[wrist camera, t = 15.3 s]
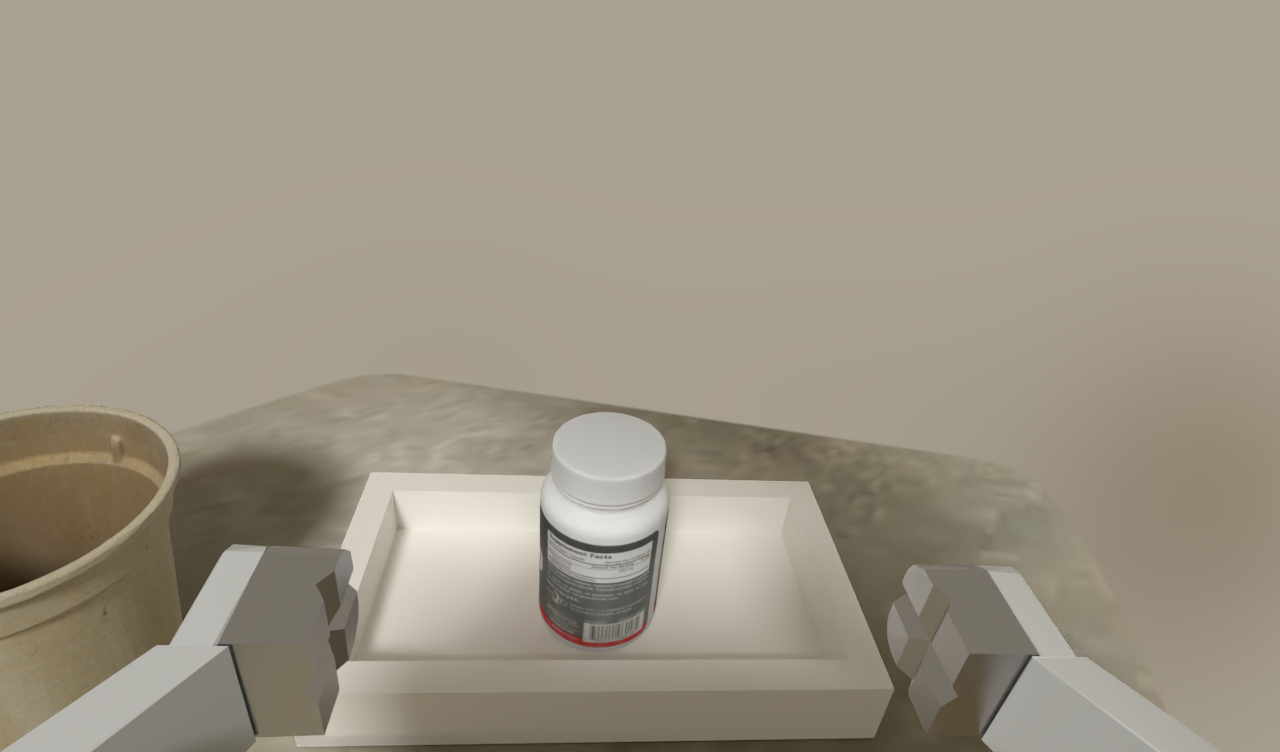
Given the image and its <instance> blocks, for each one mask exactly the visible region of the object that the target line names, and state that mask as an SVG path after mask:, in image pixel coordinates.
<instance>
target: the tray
mask: <svg viewBox="0 0 1280 752" xmlns="http://www.w3.org/2000/svg"><path fill="white" fill-rule="evenodd" d="M545 477H546V476H520V475H474V474H427V473H381V472H371V474H370V476H369V479H368V481H367V484H366V486H365V489H364V491H363V494H362V496H361V499H360V501H359V504H358V506H357V509H356V511H355V514H354V516H353V519H352V521H351V524H350V526H349V529H348V531H347V534H346V536H345V539H344V541H343V544H342V546H341V549H346V550H348V551H351V557H352V562H353V567H354V569H353V572H352V575H351V578H350V581H349V583H348V584H350V585H351V586H352V587H353V588H354V589H355V590H356V591H357V595H358V603H359V605H358V624H357V630H356V636H355V642H354V645H353V648H352V652H351V655H350V658H349V660H348V661H347V662H346V663H345V664H344V665H342V666H341V667H340V668H339V669H338V670H337V676H338V682H339V688H340V689H339V693H338V696H337V699H336V702H335V705H334V708H333V711H332V714H331V717H330V720H329V723H328V726H327V729H326V732H325V735H314V736H294V738H295V742H296V745H297V747H324V746H389V745H454V744H519V743H584V742H650V741H715V740H780V739H845V738H874V737H875V735H876V732H877V730H878V727H879V725H880V723H881V720H882V718H883V715H884V713H885V711H886V708H887V706H888V703H889V701H890V699H891V696H892V694H893V692H894V687H893V684H892V682H891V679H890V677H889V675H888V672H887V670H886V667H885V665H884V663H883V660H882V658H881V655H880V653H879V651H878V648H877V646H876V643H875V641H874V639H873V636H872V634H871V631H870V629H869V626H868V624H867V622H866V619H865V617H864V614H863V612H862V610H861V607H860V605H859V602H858V600H857V598H856V595H855V593H854V590H853V588H852V586H851V583H850V581H849V578H848V576H847V574H846V571H845V569H844V566H843V564H842V562H841V559H840V557H839V554H838V552H837V549H836V547H835V545H834V542H833V540H832V537H831V535H830V533H829V530H828V528H827V525H826V523H825V521H824V518H823V516H822V513H821V511H820V509H819V506H818V504H817V501H816V499H815V497H814V494H813V492H812V489H811V487H810V484H809V482H800V481H753V480H707V479H664V481H665V483H666V486H667V489H668V492H669V513H668V519H667V526H666V533H665V540H664V547H663V555H662V561H661V569H660V576H659V584H658V592H657V600H656V607H655V612H654V616H653V619H652V621H651V623H650V625H649V627H648V628H647V629H646V631H645V632H644V633H643V634H642V635H641V636H640V637H639V638H638V639H636V640H635V641H633V642H632V643H630V644H629V645H627V646H624V647H622V648H619V649H616V650H611V651H605V652H591V651H584V650H580V649H577V648H574V647H572V646H570V645H568V644H566V643H564V642H563V641H561V640H560V639H559V638H557V637H556V636H555V635H554V634H553V633H552V632H551V631H550V630H549V629H548V628H547V626H546V625H545V623H544V621H543V619H542V616H541V613H540V608H539V561H540V496H541V488H542V484H543V481H544V479H545Z"/></svg>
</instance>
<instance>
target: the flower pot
mask: <svg viewBox="0 0 1280 752" xmlns="http://www.w3.org/2000/svg"><path fill="white" fill-rule="evenodd" d="M180 468H181V458H180V453H179V448H178V446H177V444H176V442H175V440H174V439H173V436H172V435H171V434H170V433H169V432H168V431H167V430H166V429H165V428H164V427H162V426H161V425H160V424H158V423H157V422H155V421H154V420H152V419H150V418H148V417H145V416H143V415H141V414H137V413H135V412H132V411H128V410H122V409H116V408H109V407H103V406H92V405H91V406H85V405H72V406H46V407H42V408H34V409H27V410H19V411H12V412H5V413H2V414H0V752H1V751H2V750H4V749H5V748H7V747H8V746H10V745H11V744H13V743H14V742H16V741H17V740H19V739H20V738H22V737H23V736H24V735H26V734H27V733H29V732H30V731H32V730H33V729H35V728H36V727H38V726H39V725H41V724H42V723H43V722H45V721H46V720H48V719H49V718H51V717H52V716H54V715H55V714H57V713H58V712H60V711H61V710H62V709H64V708H65V707H67V706H68V705H70V704H71V703H73V702H74V701H76V700H77V699H79V698H80V697H81V696H83V695H84V694H86V693H87V692H89V691H90V690H92V689H93V688H95V687H96V686H98V685H99V684H100V683H102V682H103V681H105V680H106V679H108V678H109V677H111V676H112V675H114V674H115V673H117V672H118V671H120V670H121V669H122V668H124V667H125V666H127V665H128V664H130V663H131V662H133V661H134V660H136V659H137V658H139V657H140V656H141V655H143V654H144V653H146V652H147V651H149V650H150V649H152V648H153V647H155V646H156V645H169V644H170V642H171V641H172V639H173V637H174V636H175V634H176V632H177V630H178V629H179V627H180V625H181V624H182V622H183V619H182V611H181V604H180V597H179V591H178V584H177V577H176V569H175V562H174V555H173V548H172V541H171V534H170V526H169V519H170V516H171V513H172V509H173V501H174V495H173V492H174V490H175V488H176V485H177V482H178V479H179V476H180Z"/></svg>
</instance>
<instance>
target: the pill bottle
mask: <svg viewBox="0 0 1280 752" xmlns="http://www.w3.org/2000/svg"><path fill="white" fill-rule="evenodd" d="M666 453H667V449H666V443H665V440H664V438H663V436H662V435H661V434H660V432H659V431H658V430H657V429H656V428H655V427H653V426H652V425H651V424H649V423H647V422H646V421H643V420H641V419H639V418H637V417H633V416H630V415H627V414H622V413H614V412H596V413H589V414H584V415H580V416H578V417H575V418H573V419H571V420H569V421H567V422H566V423H564V424H563V425H562V426H561V427H560V428H559V429H558V430H557V432H556V433H555V435H554V438H553V442H552V453H551V462H550V471H549V473H548V474H547V476H546V477H545V479H544V481H543V484H542V488H541V496H540V561H539V608H540V613H541V616H542V619H543V621H544V623H545V625H546V626H547V628H548V629H549V630H550V631H551V632H552V633H553V634H554V635H555V636H556V637H557V638H559V639H560V640H561V641H563V642H564V643H566V644H568V645H570V646H572V647H574V648H577V649H580V650H584V651H591V652H605V651H611V650H616V649H619V648H622V647H624V646H627V645H629V644H630V643H632V642H633V641H635V640H636V639H638V638H639V637H640V636H641V635H642V634H643V633H644V632H645V631H646V629H647V628H648V627H649V625H650V623H651V621H652V619H653V616H654V612H655V607H656V600H657V592H658V584H659V576H660V569H661V561H662V555H663V547H664V540H665V533H666V526H667V519H668V513H669V492H668V489H667V486H666V483H665V481H664V478H665V465H666Z"/></svg>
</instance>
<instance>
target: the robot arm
mask: <svg viewBox="0 0 1280 752" xmlns="http://www.w3.org/2000/svg"><path fill="white" fill-rule="evenodd" d="M353 569H354V567H353V562H352V557H351V551H348V550H346V549H330V548H310V547H291V546H259V545H239V544H233V545H232V546H230V547H229V548H228V549H227V550H226V551H224V552H223V553H222V555H221V557H220V558H219V560H218V562H217V563H216V565H215V567H214V569H213V570H212V572H211V574H210V575H209V577H208V579H207V581H206V582H205V584H204V586H203V587H202V589H201V591H200V593H199V594H198V596H197V598H196V599H195V601H194V603H193V605H192V606H191V608H190V610H189V612H188V613H187V615H186V617H185V618H184V620H183V622H182V624H181V625H180V627H179V629H178V630H177V632H176V634H175V636H174V637H173V639H172V641H171V642H170V644H169V645H156V646H155V647H153V648H152V649H150V650H149V651H147V652H146V653H144V654H143V655H141V656H140V657H139V658H137V659H136V660H134V661H133V662H131V663H130V664H128V665H127V666H125V667H124V668H122V669H121V670H120V671H118V672H117V673H115V674H114V675H112V676H111V677H109V678H108V679H106V680H105V681H103V682H102V683H100V684H99V685H98V686H96V687H95V688H93V689H92V690H90V691H89V692H87V693H86V694H84V695H83V696H81V697H80V698H79V699H77V700H76V701H74V702H73V703H71V704H70V705H68V706H67V707H65V708H64V709H62V710H61V711H60V712H58V713H57V714H55V715H54V716H52V717H51V718H49V719H48V720H46V721H45V722H43V723H42V724H41V725H39V726H38V727H36V728H35V729H33V730H32V731H30V732H29V733H27V734H26V735H24V736H23V737H22V738H20V739H19V740H17V741H16V742H14V743H13V744H11V745H10V746H8V747H7V748H5V749H4V750H2V751H1V752H246V751H247V750H248V749H249V748H250V747H251V746H252V745H253V744H254V743H255V742H256V738H255V737H278V736H314V735H325V732H326V729H327V726H328V723H329V720H330V717H331V714H332V711H333V708H334V705H335V702H336V699H337V696H338V693H339V689H340V688H339V682H338V676H337V670H338V669H339V668H340V667H341V666H342V665H344V664H345V663H346V662H347V661H348V660H349V658H350V655H351V652H352V648H353V645H354V642H355V636H356V630H357V624H358V605H359V603H358V595H357V591H356V590H355V589H354V588H353V587H352V586H351V585H350V584H348V583H349V581H350V578H351V575H352V572H353ZM902 583H903V585H904V588H905V590H906V592H907V593H906V594H904V595H903V596H902V597H900V598H899V599H897V600H896V601H895V602H893V604H892V607H891V610H890V613H889V615H888V618H887V638H888V643H889V647H890V651H891V654H892V656H893V659H894V661H895V664H896V666H897V667H898V668H899V669H901V670H902V671H903V672H904V673H905V674H906V675H907V676H909V677H910V678H911V679H912V681H911V684H910V687H909V690H908V695H909V697H910V699H911V702H912V704H913V706H914V709H915V711H916V713H917V716H918V718H919V720H920V723H921V725H922V727H923V729H924V732H925V734H926V735H941V736H976V737H983V738H982V739H981V740H982V741H983V742H984V743H985V744H986V745H987V746H988V747H989V748H990V749H991V750H992V751H993V752H1221V751H1220V750H1218V749H1217V748H1215V747H1214V746H1213V745H1211V744H1209V743H1208V742H1207V741H1205V740H1204V739H1203V738H1201V737H1200V736H1198V735H1197V734H1195V733H1194V732H1193V731H1191V730H1190V729H1188V728H1187V727H1185V726H1184V725H1182V724H1181V723H1179V722H1178V721H1177V720H1175V719H1174V718H1173V717H1171V716H1170V715H1168V714H1167V713H1165V712H1164V711H1163V710H1161V709H1160V708H1158V707H1157V706H1155V705H1154V704H1153V703H1151V702H1150V701H1148V700H1147V699H1145V698H1144V697H1143V696H1141V695H1140V694H1138V693H1137V692H1135V691H1134V690H1133V689H1131V688H1130V687H1128V686H1127V685H1125V684H1124V683H1123V682H1121V681H1120V680H1118V679H1117V678H1115V677H1114V676H1112V675H1111V674H1110V673H1108V672H1107V671H1105V670H1104V669H1102V668H1101V667H1100V666H1098V665H1097V664H1095V663H1094V662H1092V661H1091V660H1090V659H1088V658H1087V657H1076V655H1075V654H1074V652H1073V651H1072V649H1071V648H1070V647H1069V645H1068V644H1067V642H1066V641H1065V639H1064V638H1063V636H1062V635H1061V633H1060V632H1059V630H1058V629H1057V627H1056V626H1055V625H1054V623H1053V622H1052V620H1051V619H1050V617H1049V616H1048V614H1047V613H1046V611H1045V610H1044V608H1043V607H1042V605H1041V604H1040V603H1039V601H1038V600H1037V598H1036V597H1035V595H1034V594H1033V592H1032V591H1031V589H1030V588H1029V586H1028V585H1027V583H1026V582H1025V580H1024V579H1023V578H1022V576H1021V575H1020V573H1019V572H1018V571H1016V570H1015V569H1013V568H1012V567H1011V566H973V565H917V564H914V565H913V566H912V567H911V568H909V569H908V570H907V572H906V574H905V576H904V579H903V581H902Z"/></svg>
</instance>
